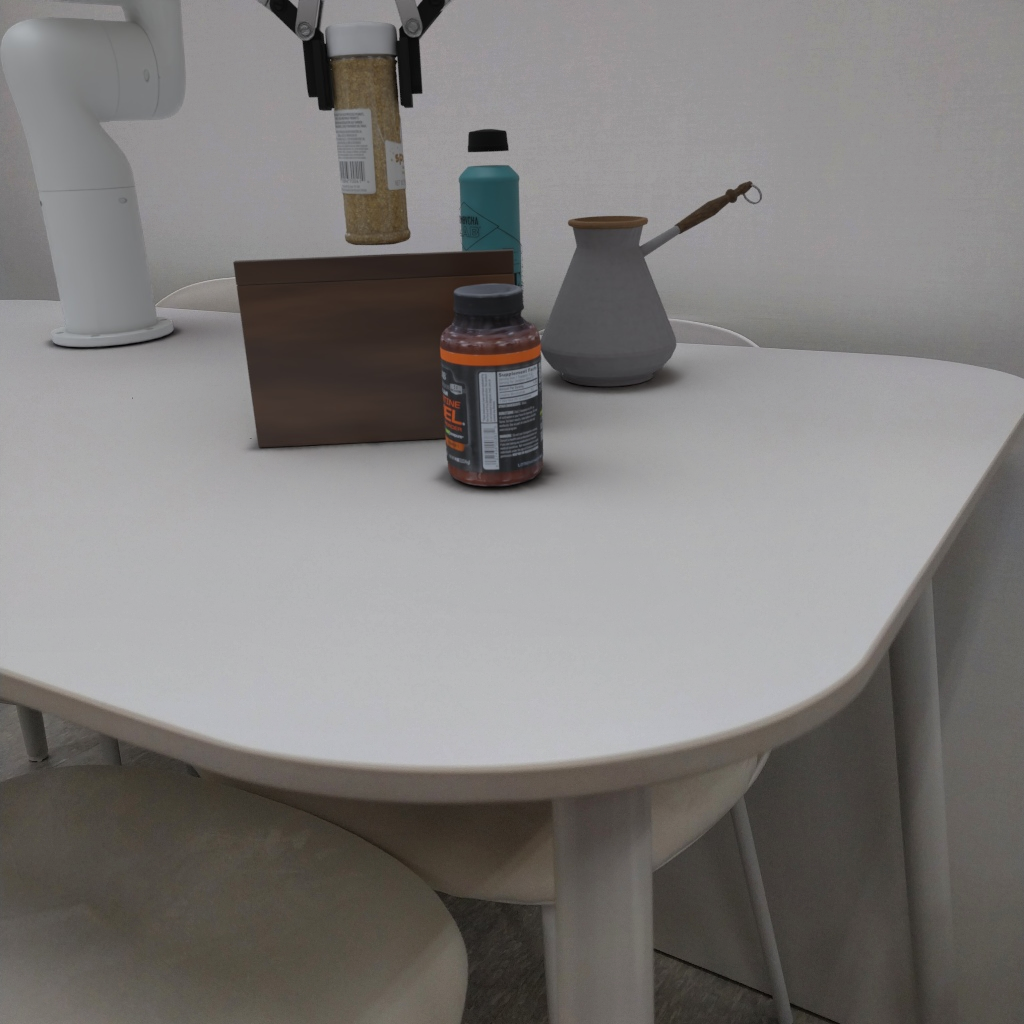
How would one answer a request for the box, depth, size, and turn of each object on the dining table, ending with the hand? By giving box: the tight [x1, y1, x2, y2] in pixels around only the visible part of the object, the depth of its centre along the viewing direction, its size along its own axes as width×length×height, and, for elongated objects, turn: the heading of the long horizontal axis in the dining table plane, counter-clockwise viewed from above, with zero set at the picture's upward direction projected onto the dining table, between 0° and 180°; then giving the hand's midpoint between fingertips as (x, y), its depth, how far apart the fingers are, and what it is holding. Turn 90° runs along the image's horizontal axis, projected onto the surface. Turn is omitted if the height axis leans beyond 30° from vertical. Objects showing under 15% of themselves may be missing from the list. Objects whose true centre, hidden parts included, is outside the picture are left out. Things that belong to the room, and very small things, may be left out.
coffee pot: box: [540, 180, 763, 387], centre depth 82 cm, size 21×12×15 cm, turn 119°
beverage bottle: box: [458, 128, 525, 313], centre depth 101 cm, size 6×7×20 cm
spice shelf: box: [232, 249, 514, 448], centre depth 72 cm, size 16×18×12 cm
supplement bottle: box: [440, 284, 544, 488], centre depth 58 cm, size 6×6×11 cm
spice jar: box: [324, 21, 412, 246], centre depth 64 cm, size 5×5×14 cm
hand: (366, 105), depth 63 cm, fingers closed on spice jar, 4 cm apart
